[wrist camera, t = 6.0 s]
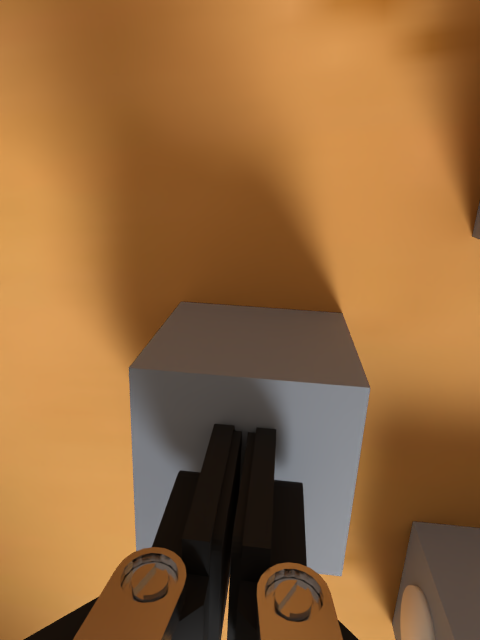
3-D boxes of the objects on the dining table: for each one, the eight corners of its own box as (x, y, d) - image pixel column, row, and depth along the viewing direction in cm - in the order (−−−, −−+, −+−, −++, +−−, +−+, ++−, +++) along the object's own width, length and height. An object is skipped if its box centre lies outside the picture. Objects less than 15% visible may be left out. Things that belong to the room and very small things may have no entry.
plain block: (325, 451, 19) (341, 576, 13) (181, 437, 19) (136, 552, 13) (342, 312, 17) (370, 388, 11) (181, 301, 17) (128, 367, 11)
